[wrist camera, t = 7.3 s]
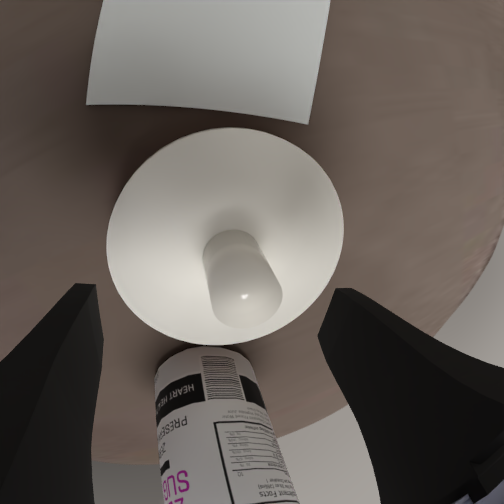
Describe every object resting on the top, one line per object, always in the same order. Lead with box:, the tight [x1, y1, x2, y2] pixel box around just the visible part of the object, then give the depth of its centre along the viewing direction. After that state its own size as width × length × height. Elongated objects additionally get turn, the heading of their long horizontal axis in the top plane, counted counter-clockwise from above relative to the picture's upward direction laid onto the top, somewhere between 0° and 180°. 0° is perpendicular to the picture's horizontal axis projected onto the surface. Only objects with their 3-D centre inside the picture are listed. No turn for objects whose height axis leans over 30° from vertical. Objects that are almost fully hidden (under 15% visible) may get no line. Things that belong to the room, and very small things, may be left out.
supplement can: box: [155, 346, 300, 504], centre depth 18 cm, size 8×8×15 cm
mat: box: [86, 0, 330, 125], centre depth 12 cm, size 12×12×1 cm
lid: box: [107, 127, 344, 345], centre depth 14 cm, size 12×12×4 cm
